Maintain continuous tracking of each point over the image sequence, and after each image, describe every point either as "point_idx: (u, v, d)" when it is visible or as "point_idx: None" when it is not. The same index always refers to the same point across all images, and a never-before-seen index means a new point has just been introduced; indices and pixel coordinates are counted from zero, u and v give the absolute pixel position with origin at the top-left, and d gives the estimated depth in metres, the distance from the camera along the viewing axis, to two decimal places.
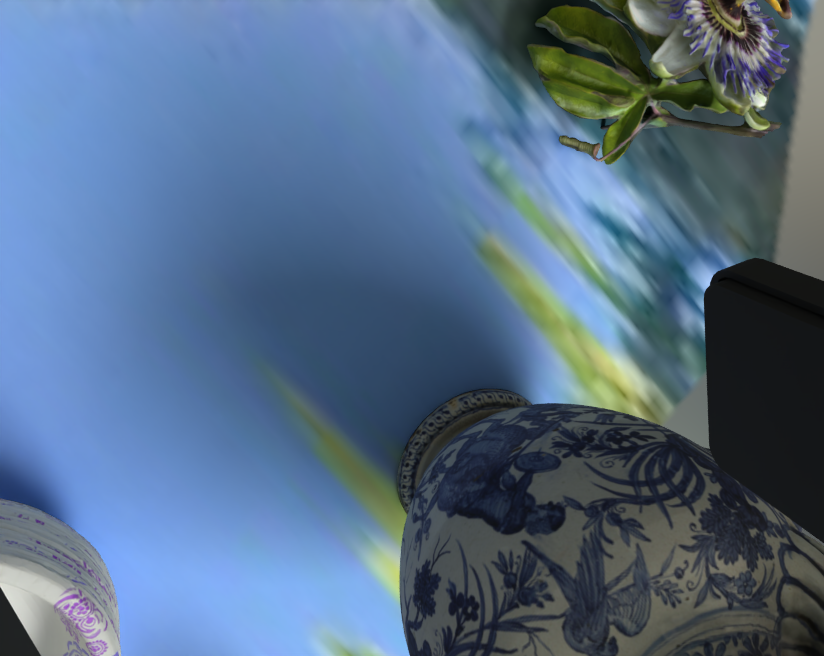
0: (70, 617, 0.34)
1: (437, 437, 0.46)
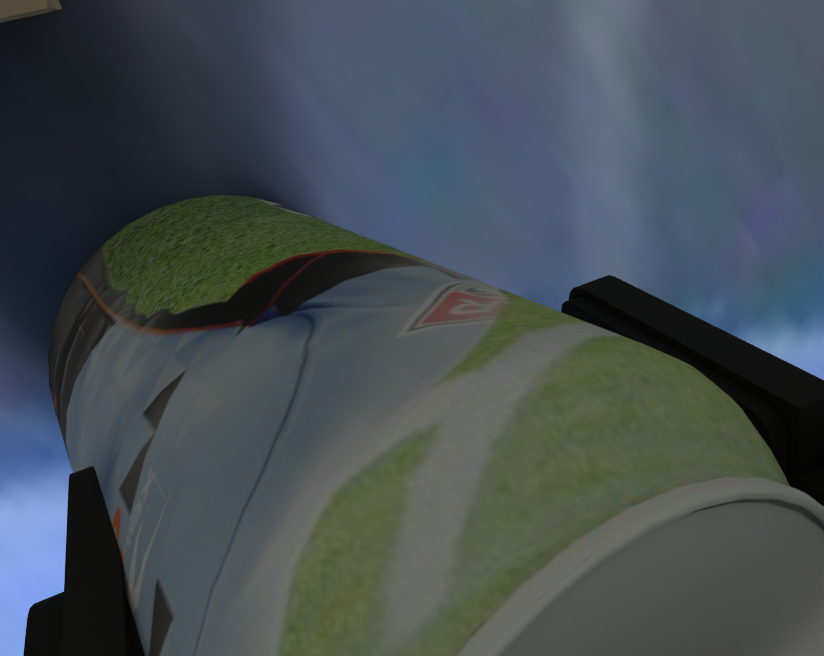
0: None
1: None
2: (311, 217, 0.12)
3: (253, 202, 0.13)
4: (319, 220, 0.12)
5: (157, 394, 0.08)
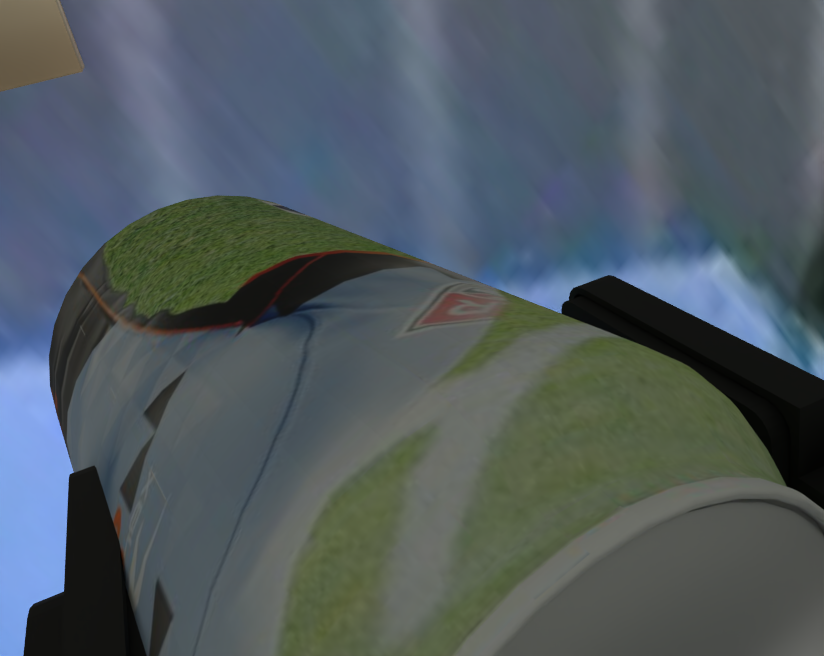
0: None
1: None
2: (311, 218, 0.12)
3: (253, 203, 0.13)
4: (319, 221, 0.12)
5: (158, 394, 0.08)
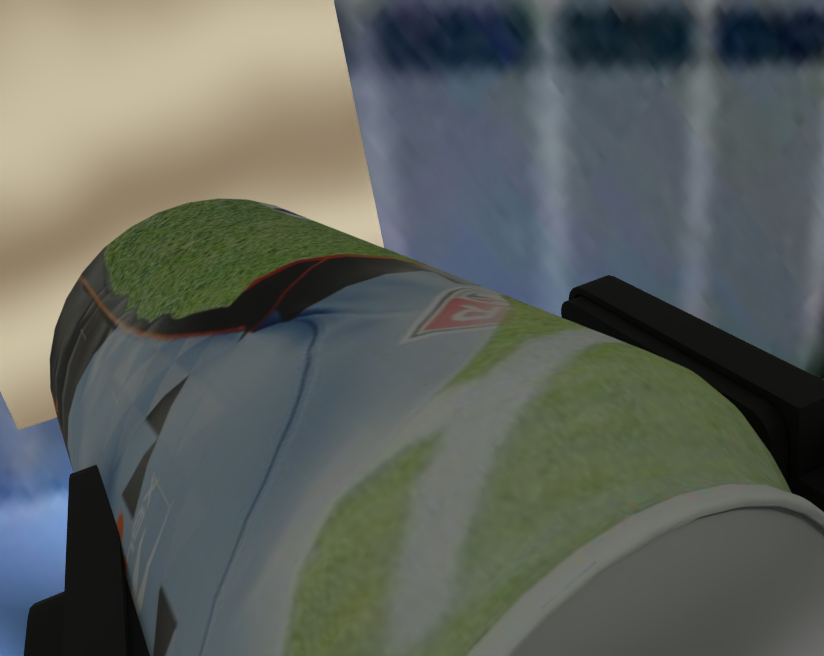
0: None
1: None
2: (312, 221, 0.12)
3: (254, 206, 0.13)
4: (320, 224, 0.12)
5: (160, 399, 0.08)
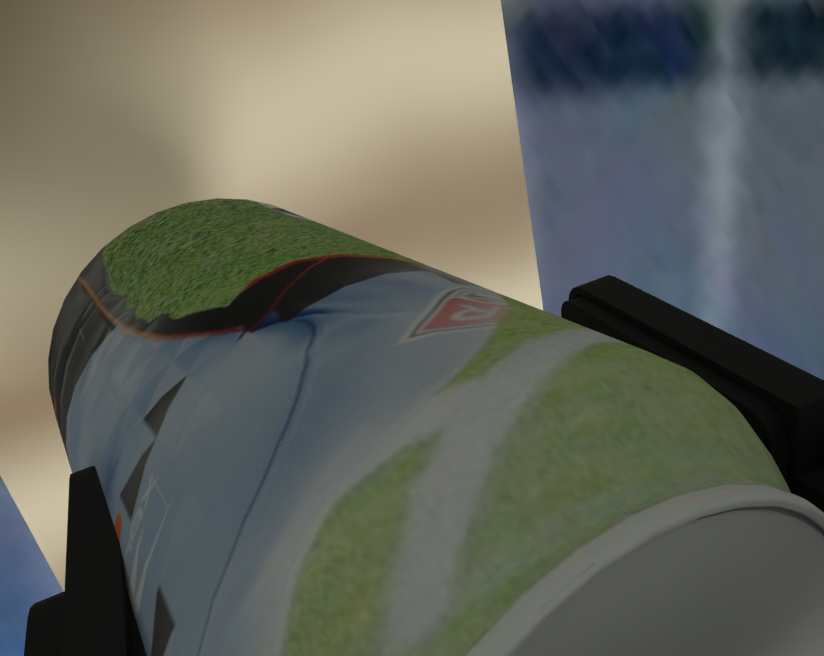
0: None
1: None
2: (311, 221, 0.12)
3: (253, 205, 0.13)
4: (319, 224, 0.12)
5: (157, 400, 0.08)
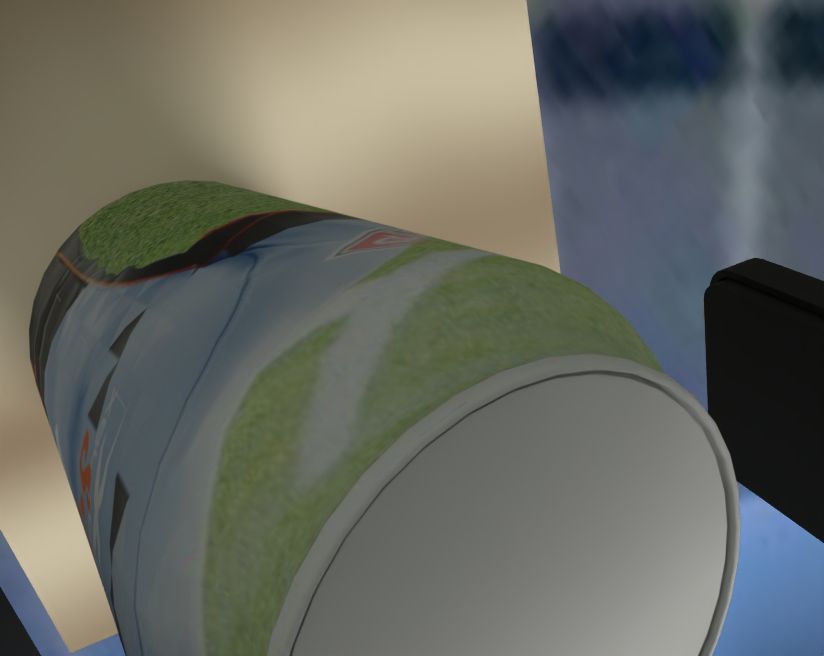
0: None
1: None
2: None
3: (219, 184, 0.14)
4: None
5: (121, 331, 0.09)
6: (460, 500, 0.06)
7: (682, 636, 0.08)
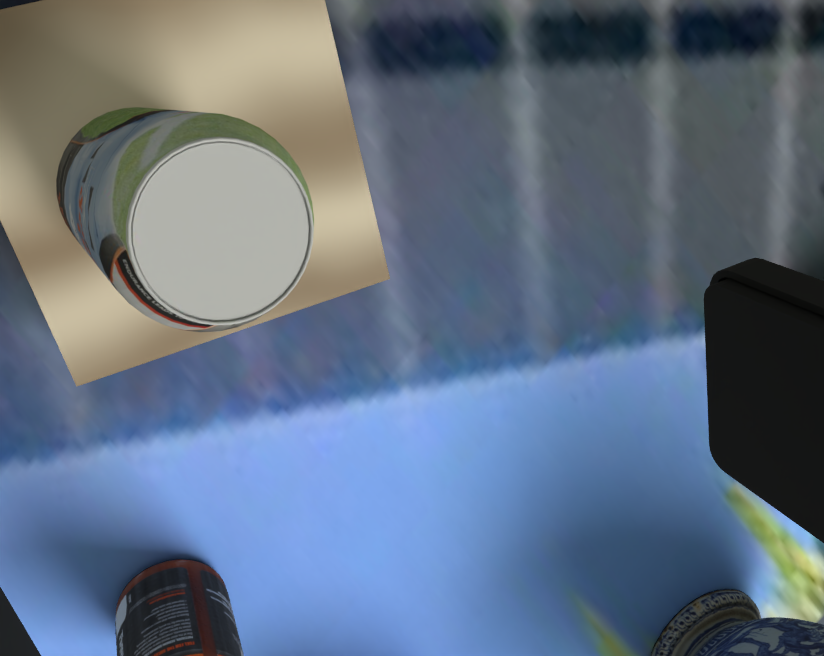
0: None
1: (687, 633, 0.59)
2: None
3: None
4: None
5: (95, 150, 0.22)
6: (189, 177, 0.19)
7: (291, 253, 0.21)
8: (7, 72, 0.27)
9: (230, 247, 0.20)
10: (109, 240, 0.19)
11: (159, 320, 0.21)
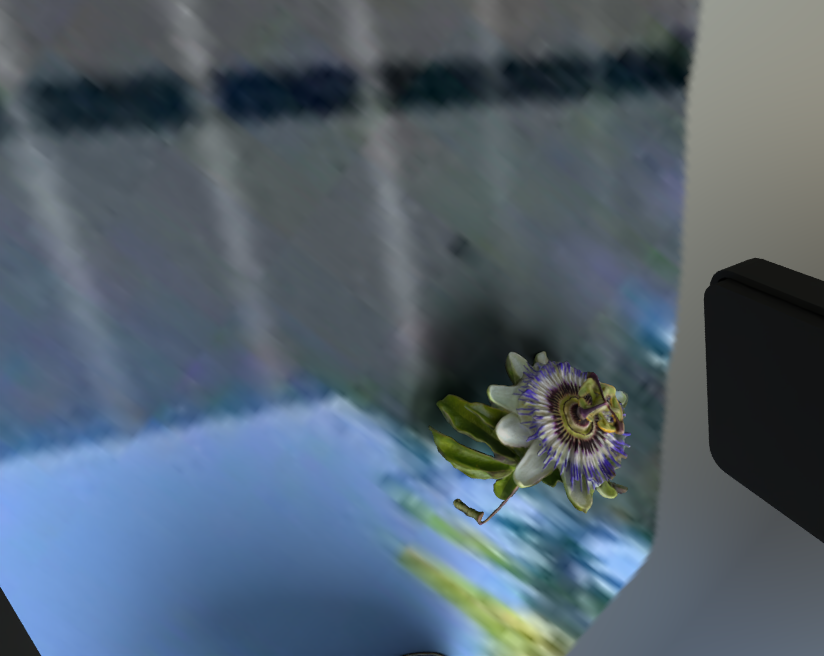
0: None
1: None
2: None
3: None
4: None
5: None
6: None
7: None
8: None
9: None
10: None
11: None
